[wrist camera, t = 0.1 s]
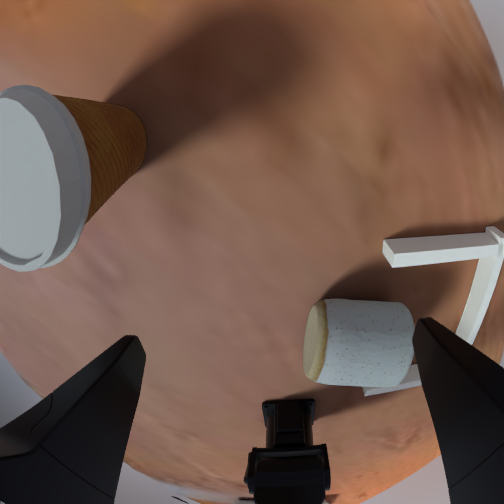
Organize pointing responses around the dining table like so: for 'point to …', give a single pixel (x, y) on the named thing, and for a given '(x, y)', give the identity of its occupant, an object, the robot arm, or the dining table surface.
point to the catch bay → (448, 250)
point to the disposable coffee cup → (58, 170)
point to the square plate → (251, 503)
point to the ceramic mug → (358, 343)
